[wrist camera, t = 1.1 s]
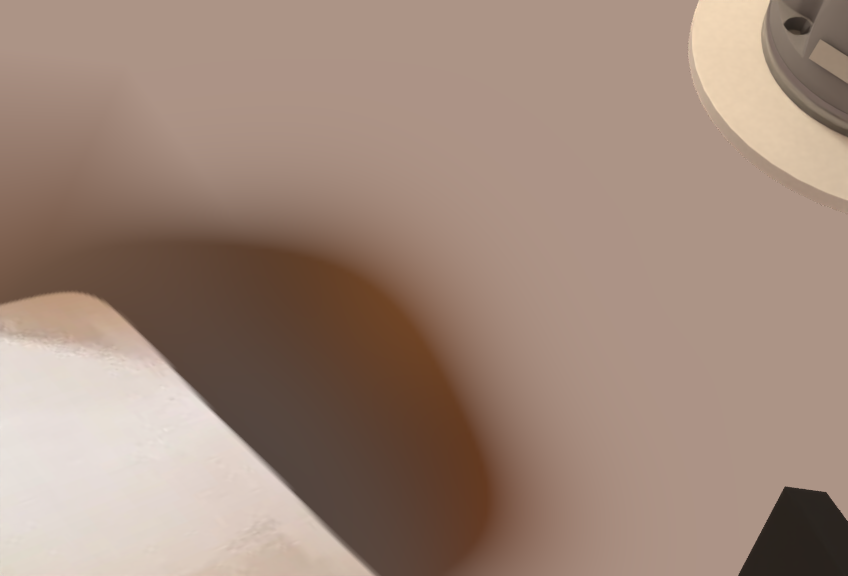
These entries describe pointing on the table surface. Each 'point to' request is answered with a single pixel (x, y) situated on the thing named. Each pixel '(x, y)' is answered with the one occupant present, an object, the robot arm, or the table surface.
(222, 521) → the table surface
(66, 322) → the table surface
